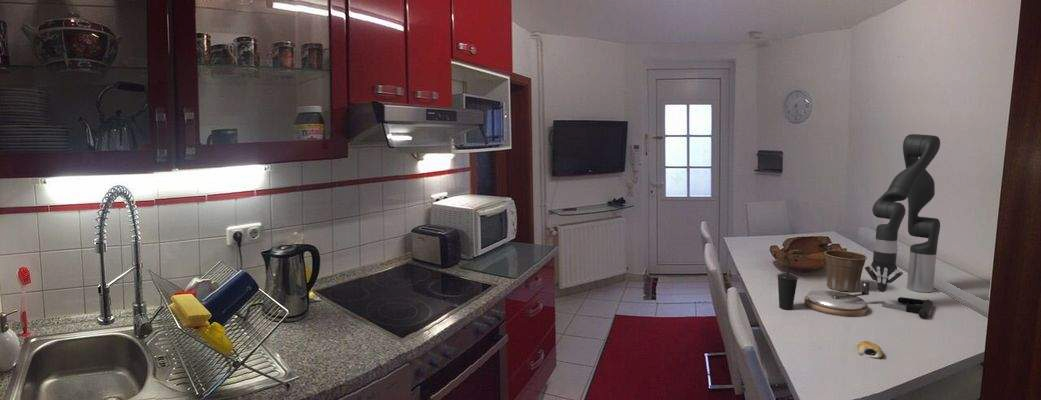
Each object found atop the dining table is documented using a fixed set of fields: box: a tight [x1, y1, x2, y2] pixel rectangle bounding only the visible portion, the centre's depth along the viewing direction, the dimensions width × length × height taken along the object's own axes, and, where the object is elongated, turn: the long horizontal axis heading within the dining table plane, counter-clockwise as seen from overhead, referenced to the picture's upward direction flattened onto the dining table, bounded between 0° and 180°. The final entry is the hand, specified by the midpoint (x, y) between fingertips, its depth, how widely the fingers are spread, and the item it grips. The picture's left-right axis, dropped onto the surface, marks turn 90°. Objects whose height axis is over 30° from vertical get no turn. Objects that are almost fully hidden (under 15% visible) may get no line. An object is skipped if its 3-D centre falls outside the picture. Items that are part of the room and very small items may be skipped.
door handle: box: [881, 296, 934, 319], centre depth 195 cm, size 3×20×16 cm
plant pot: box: [824, 249, 868, 293], centre depth 221 cm, size 16×16×16 cm
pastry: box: [857, 340, 884, 359], centre depth 158 cm, size 9×7×4 cm
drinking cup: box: [776, 260, 799, 311], centre depth 197 cm, size 8×8×20 cm
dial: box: [806, 281, 871, 310], centre depth 199 cm, size 26×20×7 cm
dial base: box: [803, 295, 869, 318], centre depth 199 cm, size 22×22×2 cm
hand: (881, 291), depth 197 cm, fingers closed
